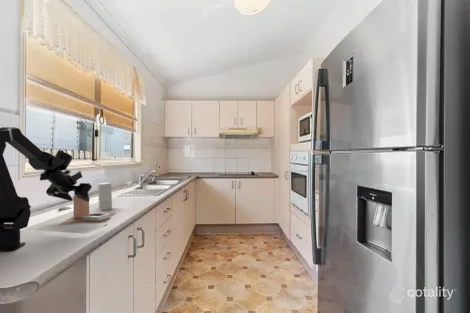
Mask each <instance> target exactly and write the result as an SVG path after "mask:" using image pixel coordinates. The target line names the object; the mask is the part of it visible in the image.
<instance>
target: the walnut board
mask: <svg viewBox="0 0 470 313" xmlns="http://www.w3.org/2000/svg"><path fill="white" fill-rule="evenodd" d="M109 213H110V218H108V219H105V220H103V221H100V222H94V221H82V218H74V215H73V216H70V217H68V218H67V219H65V220H64V221H62V222H60V223H58V226H66V225H83V224H84V225H85V224H86V225H87V224H102V223H103V224H104V223H107V222H108V221H109V220H111V218H113V217H114V215H116V214H117V212H109ZM106 226H107V224H105V225H103V227H106Z"/></svg>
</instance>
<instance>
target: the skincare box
mask: <svg viewBox="0 0 470 313" xmlns="http://www.w3.org/2000/svg"><path fill="white" fill-rule="evenodd" d="M97 189H98V193H97V195H98V199H97V200H98V209H99V210H100V211H105V210H113V203H112V202H113V200H112V198H113V197H112V195H113V194H112V183H110V182H101V183H97Z"/></svg>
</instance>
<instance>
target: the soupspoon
mask: <svg viewBox="0 0 470 313" xmlns="http://www.w3.org/2000/svg"><path fill="white" fill-rule="evenodd" d="M71 209H73V208H72V207H71V206H70V207H69V206H61V207H60V208H58V209H57V210H58V211H60V212H63V211H67V210H71Z"/></svg>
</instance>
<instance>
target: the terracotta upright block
mask: <svg viewBox="0 0 470 313" xmlns="http://www.w3.org/2000/svg"><path fill="white" fill-rule="evenodd" d="M88 214H90V201H89V202H87V201H84V200H82V199H79V198H77V196H75V195H73V216H74V218H82V216H85V215H88Z"/></svg>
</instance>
